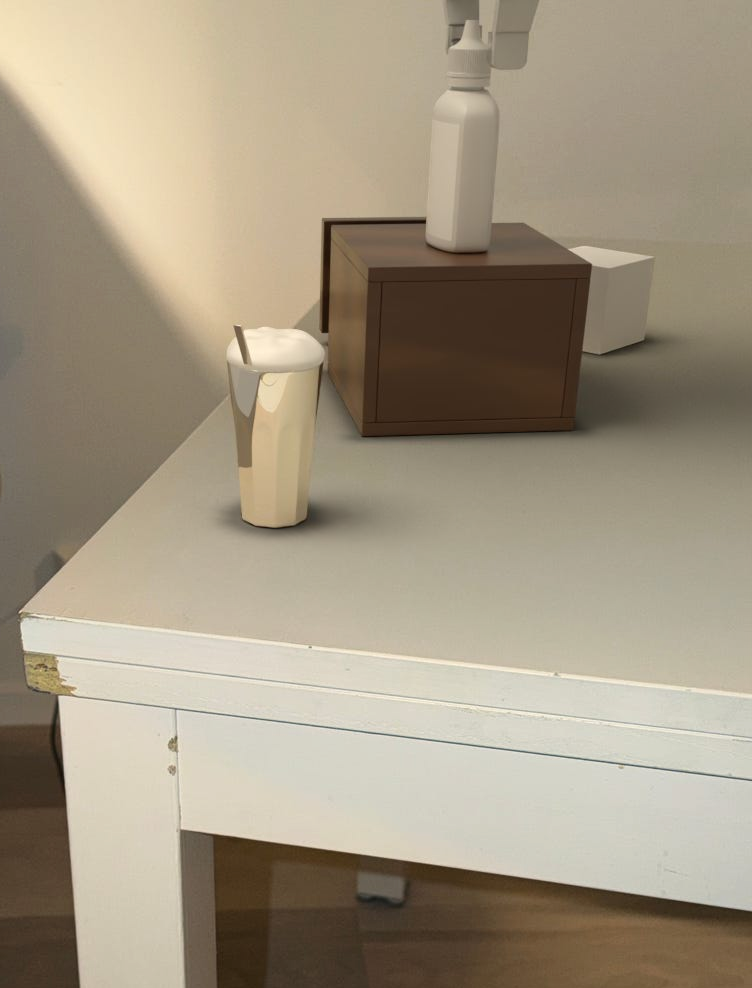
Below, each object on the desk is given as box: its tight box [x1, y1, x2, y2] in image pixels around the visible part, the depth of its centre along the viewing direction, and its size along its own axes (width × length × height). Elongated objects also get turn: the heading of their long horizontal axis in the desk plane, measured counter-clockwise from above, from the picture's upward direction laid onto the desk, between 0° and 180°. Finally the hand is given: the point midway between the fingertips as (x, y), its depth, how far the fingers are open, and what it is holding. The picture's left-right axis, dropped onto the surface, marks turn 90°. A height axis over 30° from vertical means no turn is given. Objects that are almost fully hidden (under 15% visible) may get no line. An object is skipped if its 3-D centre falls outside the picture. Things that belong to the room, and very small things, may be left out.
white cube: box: [567, 245, 656, 356], centre depth 95 cm, size 6×6×6 cm
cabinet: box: [327, 222, 592, 437], centre depth 80 cm, size 14×13×10 cm
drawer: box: [318, 216, 427, 334], centre depth 90 cm, size 18×11×8 cm, turn 6°
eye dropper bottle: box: [425, 19, 500, 253], centre depth 74 cm, size 4×6×12 cm
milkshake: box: [225, 323, 326, 529], centre depth 62 cm, size 4×5×10 cm
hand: (483, 63), depth 73 cm, fingers open, 8 cm apart
